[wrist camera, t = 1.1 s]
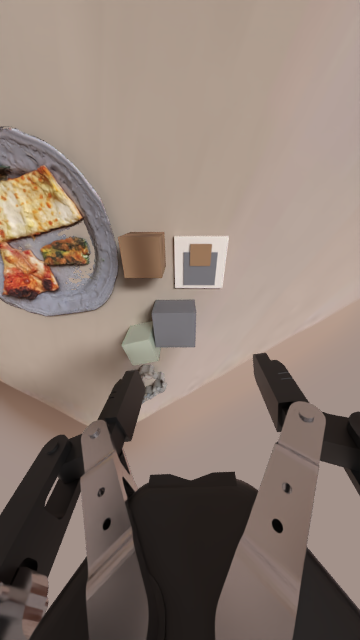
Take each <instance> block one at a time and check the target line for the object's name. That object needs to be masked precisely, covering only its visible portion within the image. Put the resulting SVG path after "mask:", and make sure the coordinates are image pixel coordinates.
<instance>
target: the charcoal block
mask: <svg viewBox="0 0 360 640" xmlns="http://www.w3.org/2000/svg"><path fill="white" fill-rule="evenodd" d="M152 320H153V328H154V336H155V344H156V347H195V335H196V308H195V300H156V301H155V304H154V308H153V311H152Z"/></svg>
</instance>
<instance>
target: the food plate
mask: <svg viewBox="0 0 360 640" xmlns="http://www.w3.org/2000/svg"><path fill="white" fill-rule="evenodd" d="M6 127H9V126H6ZM1 128H2V129H1ZM82 219H83V220H84V223H85V225H86V227H87V230H88V233H89V235H90V239H91V241H92V245H93V246H94V249H95V259H94V262H95V264H94V265H93V269H94V271H93V273H91V275H90V273H89V274H88V275H89V276H90V278H89V279H87V278H83V279H82V278H81V277H79V276H77V274H79V275H80V273H77V274H76V273H74V274H73V272H74V271H75V270H74V269H76V268H75V267H76V266H75V265H74V263H75V264H86V263H87V264H88V263H90V261H89V254H91V252H90V246H89V245H88V243H87V241H86V239H84V238H77V237H74V236H73V237H69V238H65V237H66V235H65V234H64V235H62V236H63V237H62V236H58V235H57V234H58V233H59V232H61V231H63V230H64V229H67V230H68V229H70V227H72V226H74V225H76V224H79V223H78V221H81V220H82ZM110 225H111V224H110V223H109V220H108V216H107V214H106V210H105V208H104V205H103V202H102V200H101V198H100V196H99V195H98V193H97V192H96V191H95V190H94V188H93V187H92V186H91V185H90V184H89V183H88V181H87V179H86V178H85V177H84V176H83V174H81V172H80V171H79V170H78V169H77V168H76V167H75V166H74V164H73V163H72V162H70V161H69V160H68V158H66V157H65V156H64V155H63V154H61V153H60V152H59V151H58V150H56V148H54V147H53V146H51V145H49V144H48V143H47V142H45V141H44V140H43V141H42V140H41V139H39V138H38V137H35V136H31V135H29V134H26V133H24V132H22V131H20V130H18V129H16V128H15V129H14V128H8V129H3V127H0V299H1V300H2V301H4V302H5V303H7V304H9V305H12V306H15V307H18V308H22V309H24V310H26V311H28V312H31V313H36V314H40V315H44V316H51V315H52V316H53V315H62V314H69V313H75V312H77V313H78V312H83V311H85V310H88V311H89V310H95V309H97V308H98V307H100V306H102V305H103V304H104V303H105V302H106V301H107V300H108V299H109V297H110V295H111V293H112V290H113V288H114V282H115V279H116V275H117V274H118V273H117V271H118V269H117V268H118V258H117V255H118V254H117V253H118V252H117V248H116V244H115V239H114V235H113V234H112V229H111V226H110ZM69 226H70V227H69ZM19 246H20V247H22V249H21V250H20V249H18V247H19ZM73 268H74V269H73ZM79 268H80V267H79V265H78V268H77V269H76V270H78V269H79ZM89 269H90V270H91V268H89ZM79 271H80V270H79ZM75 272H76V271H75ZM80 272H81V271H80ZM85 272H86V271H85ZM81 273H82V272H81ZM80 276H81V275H80ZM82 276H83V275H82ZM68 278H75V279H77V278H80V279H81V280H82V281H81V284H80V285H79V286H78V287H76V286H77V284H79V283H80V282H78V283H77V284H75V283H72V282H70V281H69V280H68ZM73 280H74V279H73ZM65 282H67V283H68V284H65ZM82 284H84V285H82ZM75 288H76V290H71V289H75Z"/></svg>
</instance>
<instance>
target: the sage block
mask: <svg viewBox="0 0 360 640" xmlns="http://www.w3.org/2000/svg"><path fill="white" fill-rule="evenodd" d="M121 346H122V347H123V349H124V351H125V353H126V354H127V356H128V358H129V360H130V361H131V363H132V365H133V366H134V365H140V364H145V363H150V362H156V361H159V356H160V350H161V347H156V344H155V336H154V328H153V321H150V322H146V323H141V324H137V325H132V326H130V328H129V330H128V332H127V334H126V336H125V338H124V341H123V343H122V345H121Z"/></svg>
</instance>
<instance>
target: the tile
mask: <svg viewBox="0 0 360 640" xmlns="http://www.w3.org/2000/svg"><path fill="white" fill-rule="evenodd" d="M228 240H229V236H174V252H175V288H222V286H223V278H224V271H225V263H226V255H227V247H228Z"/></svg>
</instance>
